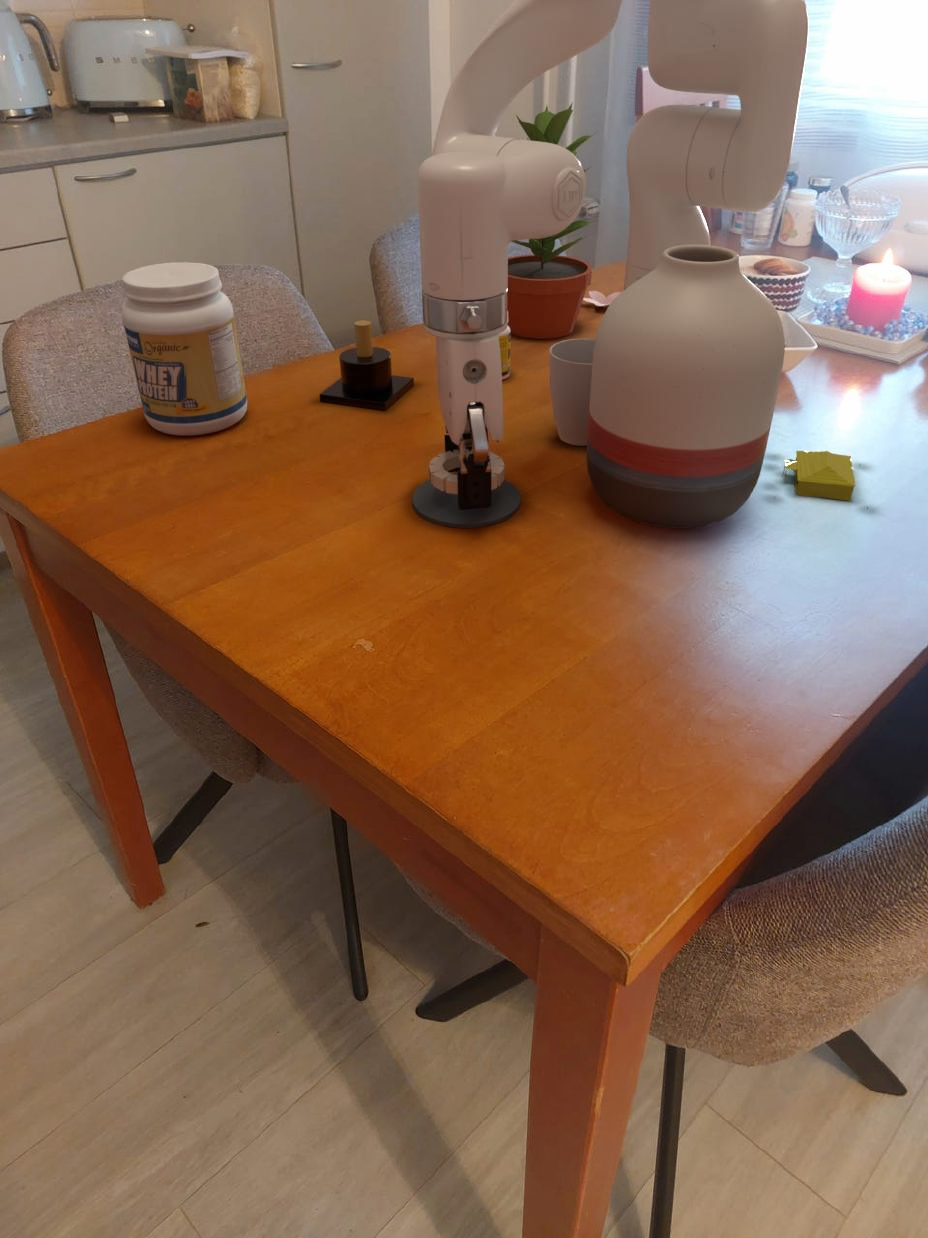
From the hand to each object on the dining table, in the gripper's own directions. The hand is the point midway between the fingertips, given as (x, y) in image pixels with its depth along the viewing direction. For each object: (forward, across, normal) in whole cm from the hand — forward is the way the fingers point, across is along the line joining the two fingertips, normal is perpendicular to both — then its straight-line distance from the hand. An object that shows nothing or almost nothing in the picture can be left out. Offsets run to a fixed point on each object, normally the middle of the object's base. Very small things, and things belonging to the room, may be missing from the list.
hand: (467, 487), depth 89 cm
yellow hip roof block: (+2, -3, -36) cm, 37 cm away
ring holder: (+2, +31, +8) cm, 32 cm away
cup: (+2, +13, -15) cm, 20 cm away
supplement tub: (+2, +27, +29) cm, 39 cm away
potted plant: (+2, +52, -20) cm, 56 cm away
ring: (-1, 0, 0) cm, 1 cm away
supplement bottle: (+2, +34, -9) cm, 35 cm away
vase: (+2, -4, -20) cm, 20 cm away
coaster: (+2, 0, 0) cm, 2 cm away
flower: (+2, +61, -33) cm, 69 cm away
